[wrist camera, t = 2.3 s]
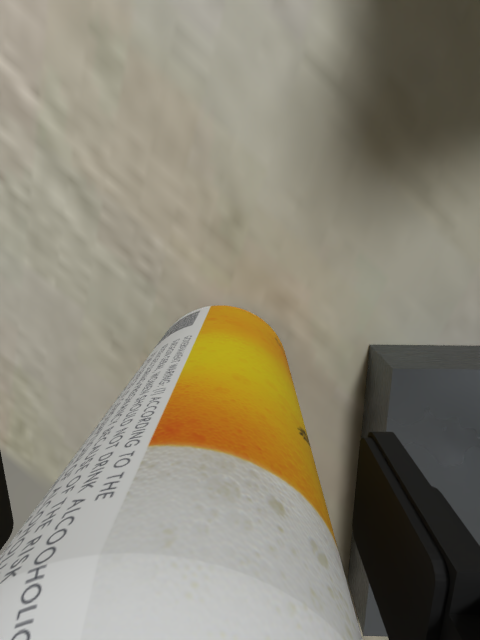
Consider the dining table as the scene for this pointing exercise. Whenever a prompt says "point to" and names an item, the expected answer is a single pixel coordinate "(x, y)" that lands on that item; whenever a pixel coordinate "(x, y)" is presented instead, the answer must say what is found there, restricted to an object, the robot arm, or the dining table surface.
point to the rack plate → (424, 434)
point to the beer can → (186, 508)
